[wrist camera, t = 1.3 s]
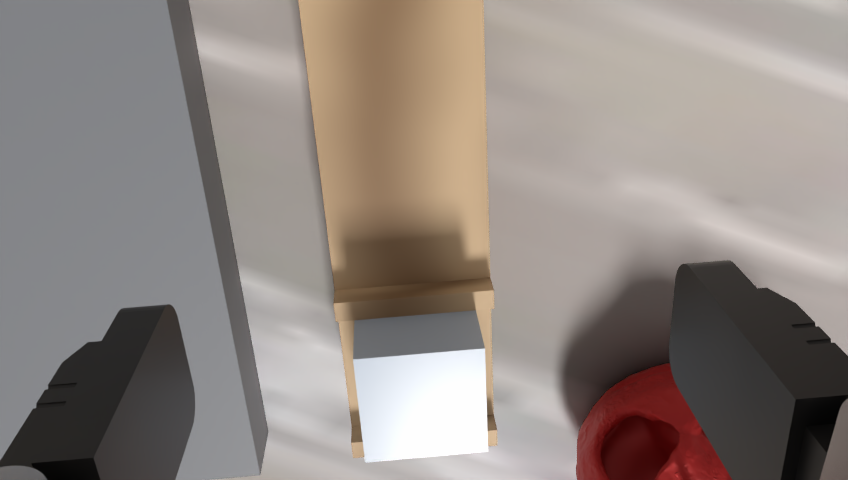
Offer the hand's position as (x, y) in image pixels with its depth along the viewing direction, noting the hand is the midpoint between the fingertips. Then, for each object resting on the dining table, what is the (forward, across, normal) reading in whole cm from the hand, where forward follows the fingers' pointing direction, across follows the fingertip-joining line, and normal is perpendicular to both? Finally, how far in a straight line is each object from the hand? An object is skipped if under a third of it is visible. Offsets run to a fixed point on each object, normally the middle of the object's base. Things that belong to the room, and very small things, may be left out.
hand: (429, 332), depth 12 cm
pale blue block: (+15, 0, +11) cm, 19 cm away
